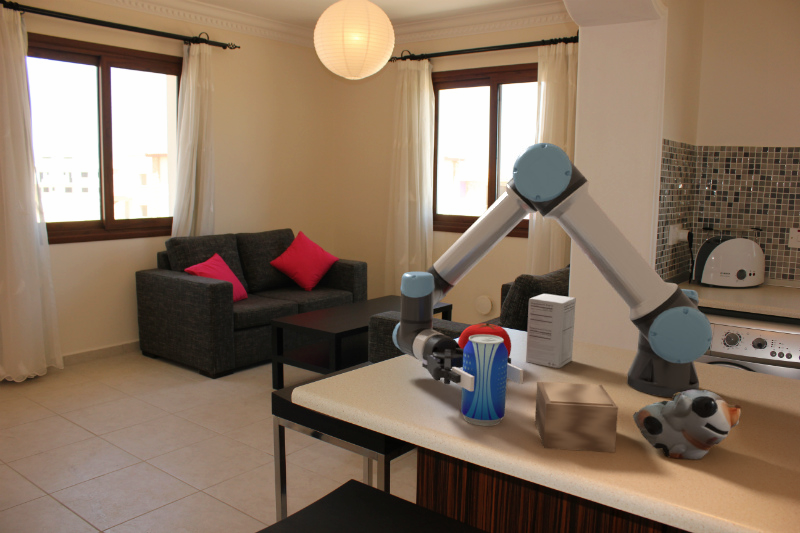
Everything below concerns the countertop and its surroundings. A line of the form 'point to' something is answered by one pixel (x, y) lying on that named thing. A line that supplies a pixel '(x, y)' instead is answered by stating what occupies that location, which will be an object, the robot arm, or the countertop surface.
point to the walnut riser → (575, 417)
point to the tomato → (487, 330)
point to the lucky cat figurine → (687, 423)
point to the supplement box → (550, 330)
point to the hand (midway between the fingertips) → (497, 380)
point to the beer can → (485, 380)
